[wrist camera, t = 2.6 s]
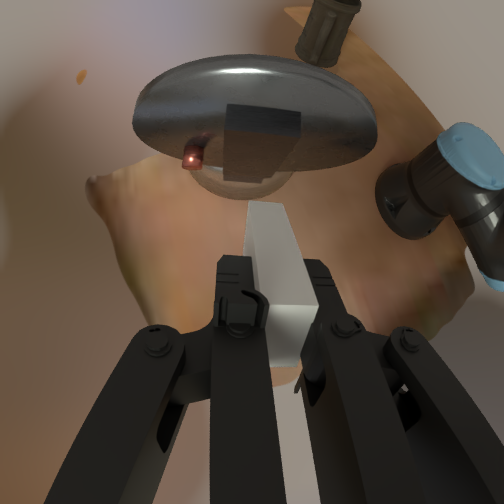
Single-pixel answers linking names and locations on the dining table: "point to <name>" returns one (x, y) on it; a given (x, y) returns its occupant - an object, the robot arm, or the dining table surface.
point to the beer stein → (326, 31)
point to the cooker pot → (238, 183)
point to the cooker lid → (255, 116)
